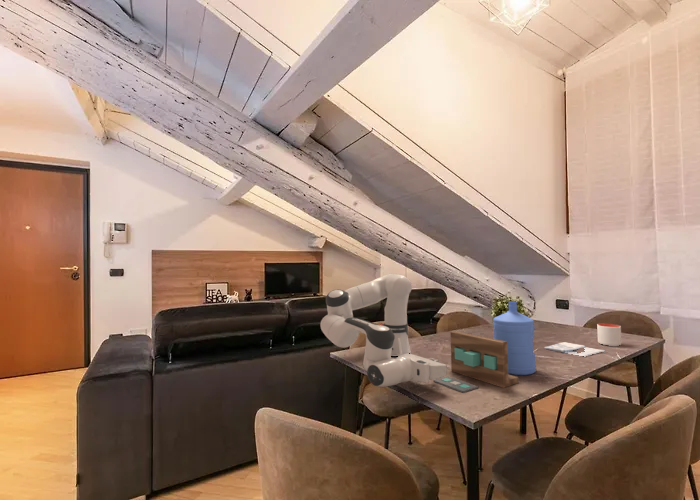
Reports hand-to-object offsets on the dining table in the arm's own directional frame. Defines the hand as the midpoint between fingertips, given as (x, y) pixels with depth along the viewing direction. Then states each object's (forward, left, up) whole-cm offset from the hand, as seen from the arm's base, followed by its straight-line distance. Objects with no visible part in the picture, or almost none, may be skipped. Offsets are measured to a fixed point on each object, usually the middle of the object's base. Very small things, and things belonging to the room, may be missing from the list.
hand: (436, 361), depth 138 cm
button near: (+21, -2, -2) cm, 21 cm away
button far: (+13, +10, -2) cm, 17 cm away
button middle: (+15, +2, -2) cm, 15 cm away
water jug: (+34, +13, -8) cm, 38 cm away
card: (+6, -4, -8) cm, 10 cm away
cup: (+99, +54, -8) cm, 114 cm away
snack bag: (+75, +43, -8) cm, 87 cm away
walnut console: (+19, +5, -8) cm, 21 cm away
